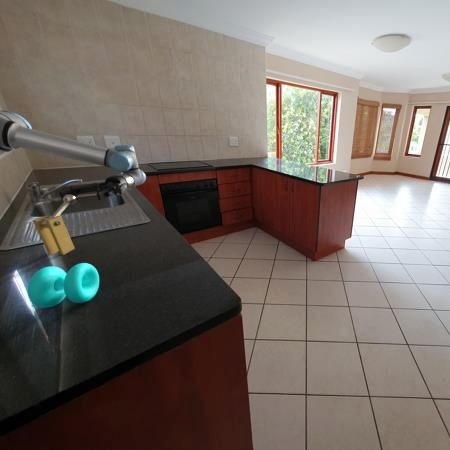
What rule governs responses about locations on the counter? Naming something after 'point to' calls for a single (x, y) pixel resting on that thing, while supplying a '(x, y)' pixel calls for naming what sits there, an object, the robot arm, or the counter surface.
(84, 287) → the donuts
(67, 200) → the lever
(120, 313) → the counter surface
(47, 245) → the bracket
